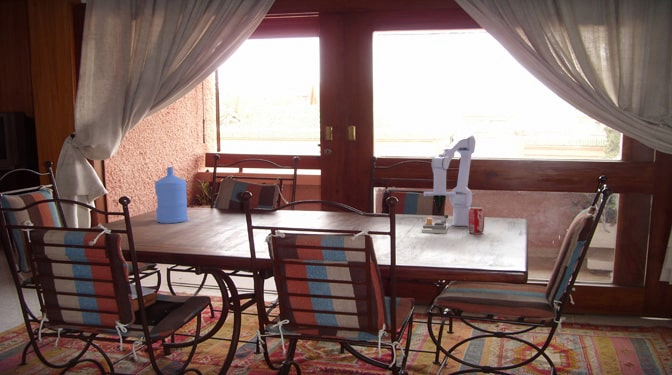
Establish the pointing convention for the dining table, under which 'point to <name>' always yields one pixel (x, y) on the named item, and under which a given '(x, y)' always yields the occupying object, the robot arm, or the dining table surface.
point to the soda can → (476, 220)
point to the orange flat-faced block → (429, 221)
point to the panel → (435, 228)
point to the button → (439, 224)
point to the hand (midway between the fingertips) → (439, 211)
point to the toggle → (445, 217)
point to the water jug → (171, 199)
